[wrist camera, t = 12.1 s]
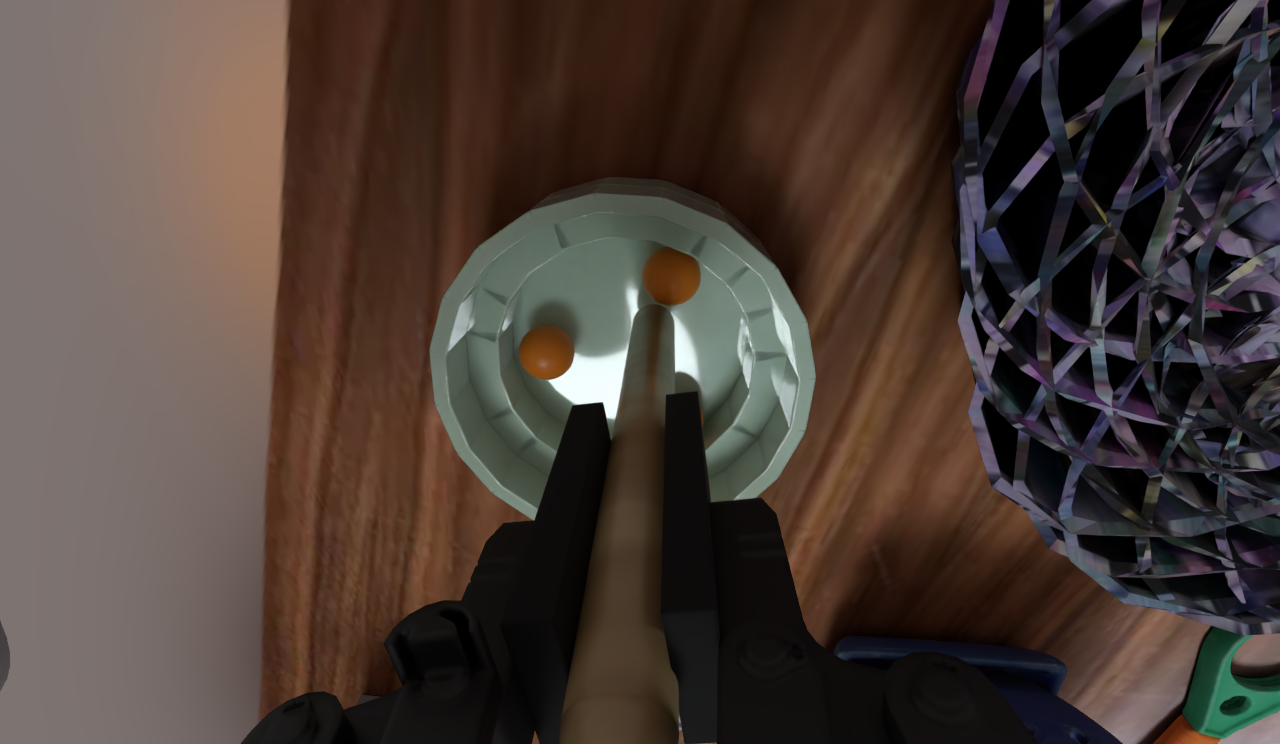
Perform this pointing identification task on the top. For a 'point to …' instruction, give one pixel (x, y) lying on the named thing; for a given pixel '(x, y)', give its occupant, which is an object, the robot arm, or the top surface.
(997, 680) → the flower pot
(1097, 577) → the decorative bowl
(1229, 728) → the magnifying glass
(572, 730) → the stick
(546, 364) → the bead
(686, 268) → the bead
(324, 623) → the top surface
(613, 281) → the bowl
